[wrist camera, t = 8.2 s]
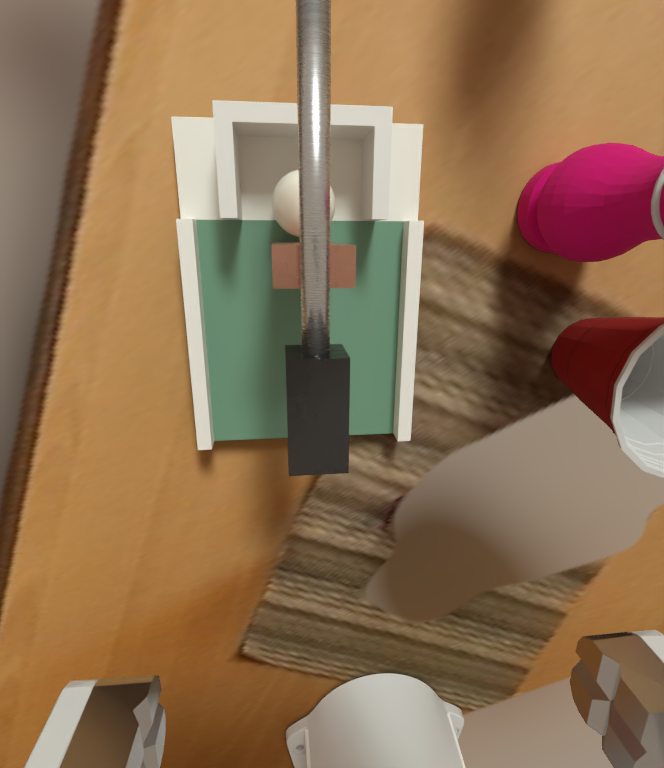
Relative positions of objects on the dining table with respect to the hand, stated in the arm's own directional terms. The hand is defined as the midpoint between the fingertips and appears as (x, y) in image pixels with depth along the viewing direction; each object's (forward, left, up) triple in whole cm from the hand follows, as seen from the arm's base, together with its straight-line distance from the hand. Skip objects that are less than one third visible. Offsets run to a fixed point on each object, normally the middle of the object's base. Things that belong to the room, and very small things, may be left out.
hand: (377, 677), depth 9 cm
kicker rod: (+8, 0, -26) cm, 27 cm away
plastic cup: (-1, -23, -28) cm, 37 cm away
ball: (+10, 0, -25) cm, 27 cm away
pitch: (+4, 0, -28) cm, 28 cm away
